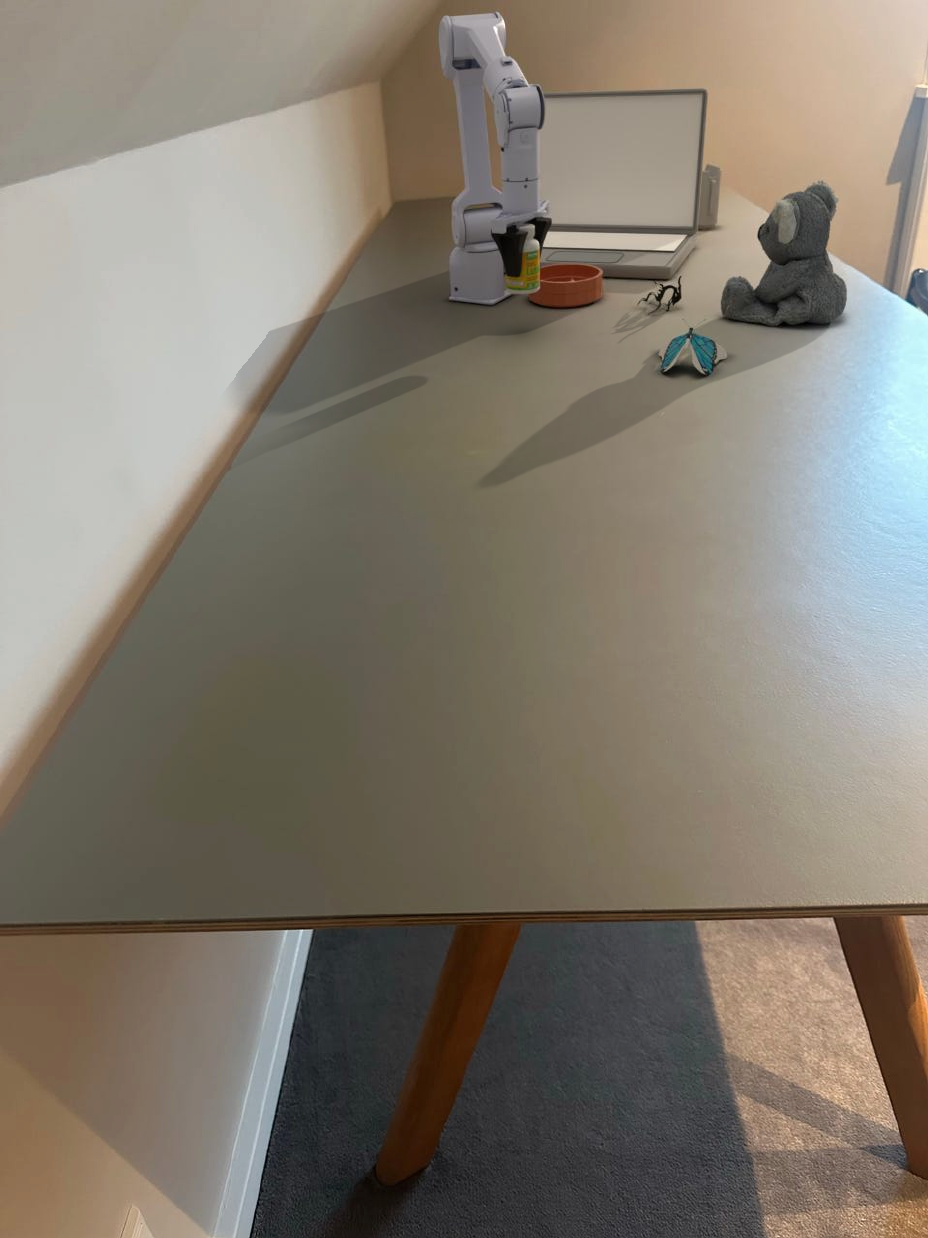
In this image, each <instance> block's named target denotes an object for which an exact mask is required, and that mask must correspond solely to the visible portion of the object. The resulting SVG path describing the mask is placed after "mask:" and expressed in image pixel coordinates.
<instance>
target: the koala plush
mask: <svg viewBox="0 0 928 1238" xmlns="http://www.w3.org/2000/svg"><path fill="white" fill-rule="evenodd" d="M838 203H839V197H837V195H836V194H835V190H833V189H832V187H831V186H830V185H829V184H828V183H827V182H825V181H824V180H820V179H819V180H817V183H816V182H812V184H810V185H807V187H806V188H805V190H803V191H802V190H799V191H794V192H791V193H788V194H786V195H785V196H783V197H782V198H781V199H779V200H777V201H776V202H775V204H774V206H773V207H772V211H771V212H770V213H769V215H768V217H767V218H766V220H765V222H764V223H762V224H761V225H760V226H759V228H758V230H757V235H756V236H757V237H756V238H757V240H758V242H759V243H760V246H761V248H762V251H763V252H764V254H765V255H766V257H767V258H768V259H769V260H770V262H769V264H768V266H767V268H766V269H765V272H764V274H762V277H761V279H760V281H759V282H758V285H757V286H756V287H755V288H754V286H753V285H752V284H751V283H750V281H749V280H748V279H747V278H746V277H744V276H741V275H739V276H732V277H729V278H728V280H727V281H726V283H725V285H724V287H723V290H722V293H721V299H720V311H721V314H722V315H723V316H725V318H727V319H731V320H736V321H739V322H745V323H756V324H763V325H767V326H769V327H775V326H777V327H778V326H779V325H781V324H783V323H786V324H788V325H790V326H795V325H800V324H803V323H805V322H806V323H810V324H817V325H818V324H819V325H820V324H822V325H824V324H827V323H828V324H829V323H830V322H832V321H834V320H835V319H837V318H838V317H840V316H841V315H842V314H843V313H844V311H845V309H846V305H847V300H848V288H847V284H846V281H844V279H843V278H842V277H840V275H839V274H837V273H835V272H834V265H833V264H832V261H831V260H830V256H829V253H828V251H827V247H828V244H829V240H830V235H831V234H830V231H831V222H833V219H834V217H835V216H836V212H837V204H838Z"/></svg>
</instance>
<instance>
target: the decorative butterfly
mask: <svg viewBox="0 0 928 1238" xmlns="http://www.w3.org/2000/svg"><path fill="white" fill-rule="evenodd" d="M682 320H684V322H686V320H685V319H683V318H682ZM706 320H707V319H705V318H704V319H703V320H702V321H700V322H699V323H697V325H699V324H700V323H702V322H703V321H706ZM686 324H687V326H689V324H688V323H686ZM697 325H696V326H697ZM693 331H694V327H691V326H690V327H688V332H686V333H684V334H681V335H678V336H676V337H675V338H673V339H671V340H670V341H668V342H667V343H666V344H664V345H663V346H662V348H660V350H659V351H658V356H659V357H661V361H662V363H661V366H660V372H661V373H664V372H667V371H668V370H670V369H671V368H672V367H674V365H675V364H676V362H677V361H678V359H679V357H680V355H681V353H682V352H683V350H687V348H688V347H689V349H690V352H691V353H690V354H691V361H692V364H693V366H694V368H695V369H697V371H698V372H700V373H701V374H703V375H706V376H709V375H710V374H712V373H713V371H714V364H717V363H718V362H719V361H720V360H725V359H727V358H728V353H727V351H726V349H725V348H724V347H723V346H722V345H720V344H719V343H717V342H716V341H714V340H713V339H711V338H709V337H706V336H702V335H700V334H698V333H694V332H693ZM684 348H685V349H684Z"/></svg>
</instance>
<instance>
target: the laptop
mask: <svg viewBox="0 0 928 1238" xmlns="http://www.w3.org/2000/svg"><path fill="white" fill-rule="evenodd" d="M543 95H544V99H545V121H544V125H543V127H542V129H541V130H539V129H538V130H539V165H540V200H544V201H549V214H547V215H545V216H543V217H545V218H551V219H552V225H551V226H550V228H549V230H548V233H547V235H546V238H545V241H544V244H543V248H542V253H541V257H540V267H542V266H547V265H553V264H566V263H576V264H587V265H592V266H596V267H598V268H601V270H602V271H603V278H620V279H621V278H622V279H647V280H670V279H671V278H672V277H673V276H674V275H675V274H676V272H677V271H678V269H679V268H680V267H681V265H683V263H684V262H685V260H686V259H687V257H688V256H689V255H690V254H691V252H692V251H693V250H694V248H696V239H697V238H696V236H695V235H696V234H697V232H698V230H699V229H698V219H699V206H700V193H701V180H702V171H703V169H704V168H703V167H704V166H703V165H704V154H705V153H704V152H705V140H706V127H707V114H708V104H709V103H708V100H709V91H708V90H707V89H706V88H704V87H696V88H694V87H693V88H664V89H663V88H661V89H660V88H659V89H629V90H628V89H627V90H626V89H625V90H593V91H592V90H591V91H587V90H586V91H555V92H551V91H550V92H543ZM503 272H504V274H506V271H505V267H504V264H503Z"/></svg>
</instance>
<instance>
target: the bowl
mask: <svg viewBox="0 0 928 1238" xmlns="http://www.w3.org/2000/svg"><path fill="white" fill-rule="evenodd" d="M603 286H604V277H603V271H602V270H601V268H598V267H596V266H592V265H587V264H576V263H566V264H553V265H547V266H542V267H540V289H539V290H538V291H537V292H534V293H530V294H527V298H528V299H529V301H531V302H533V303H535V304H538V305H540V306H544V307H548V308H573V307H574V308H576V307H582V306H585V305H590V304H592V303H594V302H596V301H598V300H599V299H601V298H602V296H603V293H604V292H603V288H604V287H603Z"/></svg>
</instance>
